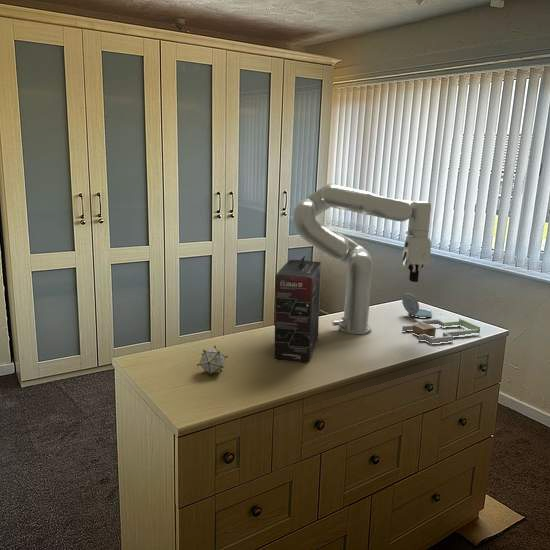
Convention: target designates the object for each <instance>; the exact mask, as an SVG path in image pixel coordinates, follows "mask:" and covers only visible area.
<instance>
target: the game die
mask: <svg viewBox="0 0 550 550" xmlns="http://www.w3.org/2000/svg"><path fill="white" fill-rule="evenodd" d="M202 351H203V353H201V359H200V361H199V363H197V364H196V366H200V367H201V368H203V369H204V370H205V371H206V372H207V373H209V376H208V377H211V376H212V374H214V373H216V372H217V373H218V371H220V372H223V370H222V369H224V367H225V366H223V365H224V363H225V359H226V358H228V357H229V356H228V355H224V354H223V353H222V352H221V351H220V350H218V349H217V346H216V345H214V346H213V348H210V349H207V350H205V349H202Z"/></svg>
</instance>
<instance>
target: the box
mask: <svg viewBox="0 0 550 550" xmlns="http://www.w3.org/2000/svg"><path fill="white" fill-rule="evenodd" d="M423 323H427V324H439V325H441V326H443V327H444V326H452V325H461V326H464V327H466V328H468V329H471V330H464V329H463V330H454V331H445V332H444V331H443V332H442V336H435V337H433V338H432V337H430V336H428V335H426V334H422V335H419V337H418V339H417V340H426V341H428V342H429V343H431V344H432V343H440V342H448V341H452V342H453V339H454V338H453V336H459V335H465V334H471V333H479V334H480V333H481V332H480V331H481V326H479V325H477V324H474V323H472V322H470V321H468V320H465V319H463V318H458V320H453V321H442V320H440V319H438V318H434V319H423V320H418V321H417V324H423ZM413 325H414V324H410V325H402V330H401V332H402V331H407V330H413ZM429 343H428V344H429Z"/></svg>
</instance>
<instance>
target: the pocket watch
mask: <svg viewBox="0 0 550 550" xmlns="http://www.w3.org/2000/svg"><path fill="white" fill-rule="evenodd" d="M401 301H402V302H401V303H402V306H403V308H404V309H405V311H406V312H407V314H408V315H409V314H410V315H413V316H417V317H430V316H431V317H432V316H433V314H432V311H430V310H427V309H421V308H420V304H419V301H418V299H417V298H416V297H415V295H413V294H412V293H408V292H407V293H405V294H404V295H402V300H401ZM410 315H409V316H410ZM431 317H430V318H431Z"/></svg>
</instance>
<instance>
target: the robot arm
mask: <svg viewBox="0 0 550 550" xmlns="http://www.w3.org/2000/svg"><path fill="white" fill-rule="evenodd" d="M330 208H334V209H338V210H343V211H347V212H348V211H349V212H352V213H358V214H361V215H365V216H373V217H377V218H381V219H385V220H390V221H393V222H394V221H395V222H400V223H401V222H406V221H408V225H407V227H408V229H407V231H406V232H405V234H406V235H407V237H405V240H404V245H403V250H402V260H401V261H402V262H403V263H402V267H404V268H408V271H409V276H408V277H409V279H408V280H409V281H410V282H413V283H418V281H419V274H420V272H421V271H422V269H423V267H426V266H427V265H428V264H429V263H430V262H431V239H430V237H429V232H430V221H431V212H432V211H431V210H432V204H431V202H429V201H426V200H413V201H412V200H406V199H401V198H399V199H394V198H389V197H384V196H381V195H377V194H374V193H372V192H371V191H367V190H362V189H358V188H354V187H353V188H352V187H349V186H348V187H347V186H342V185H338V184H335V183H328V184H326V185H324V186H322V187H320V189H317V191H315V192H313V193H312V194H309V195H307V196H306V197H304V198H302V199H301V200H300V201H298V203H297V204H296V206H295V208H294V211H293V225H294V228H295V231H296V233H297V234H298V235H299V236H300V238H302V239H303V240H304V241H306V242H307V243H308V244H309V245H311V246H312V247H314V248H316V249H317V250H318V251H320V252H321V253H323V254H324V255H326V256H327V257H328V258H330V259H331V260H335V261H340V263H341V262H342V264H344V265H346V266H347V267H346V268H347V269H346V279H345V282H346V283H345V296H344V297H345V298H344V310H343V311H344V312H343V313H344V314H343V316H342V317H341V319H339V320H332V321H331V322H332V327H333V326H335V327H336V326H338V327H339V331H340V330H341V331H342V332H343V333H347V334H352V335H365V334H366V333H367V334H369V333H371V332H372V326H371V325H369V313H370V312H369V311H370V300H371V287H372V278H373V270H374V261H373V258H372V256H371V254H370V253H369V251H368V250H367V249H365V248H364V247H363V246H361V245H360V244H358V243H357V242H355V241H354V240H352V239H351V238H349V237H347V236H346V235H344V234H343V233H339V232H333V231H331V230H329V229H328V228H327V227H325V226H324V225H322V224H321V223H319V221H317V219H316V218H317V216H318V215H320V214H322V213H323V212H325V211H327V210H328V209H330Z"/></svg>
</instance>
